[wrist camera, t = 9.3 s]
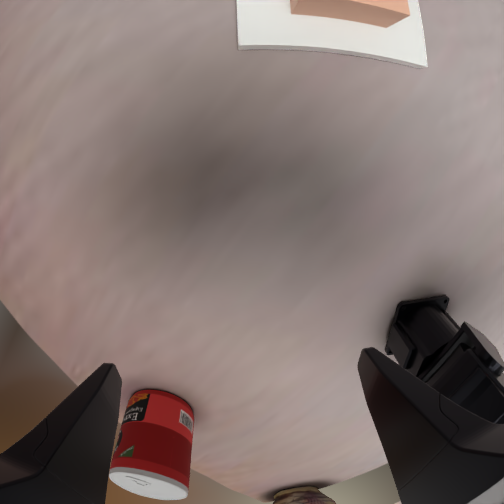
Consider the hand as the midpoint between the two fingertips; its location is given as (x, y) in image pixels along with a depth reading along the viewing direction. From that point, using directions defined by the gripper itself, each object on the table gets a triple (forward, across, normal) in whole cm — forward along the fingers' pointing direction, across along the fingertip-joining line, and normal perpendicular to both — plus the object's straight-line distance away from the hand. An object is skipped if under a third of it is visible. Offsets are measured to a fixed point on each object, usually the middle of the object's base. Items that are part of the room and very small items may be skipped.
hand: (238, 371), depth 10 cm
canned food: (+13, +10, +21) cm, 27 cm away
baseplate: (+13, -8, -18) cm, 24 cm away
